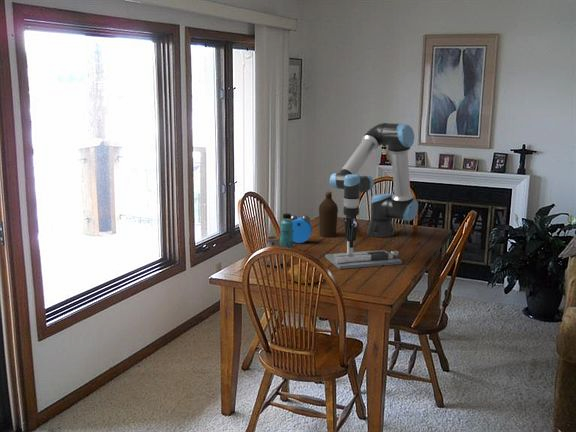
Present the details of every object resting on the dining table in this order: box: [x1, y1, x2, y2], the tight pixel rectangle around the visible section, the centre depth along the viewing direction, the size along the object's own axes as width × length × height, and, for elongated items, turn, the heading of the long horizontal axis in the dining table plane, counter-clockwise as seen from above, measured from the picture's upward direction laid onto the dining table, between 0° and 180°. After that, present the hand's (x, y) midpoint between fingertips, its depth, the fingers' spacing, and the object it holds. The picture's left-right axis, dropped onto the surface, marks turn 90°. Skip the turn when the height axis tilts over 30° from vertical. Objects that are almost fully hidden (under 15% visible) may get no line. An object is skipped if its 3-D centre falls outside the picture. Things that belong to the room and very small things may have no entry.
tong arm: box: [333, 250, 389, 260], centre depth 296 cm, size 26×3×2 cm, turn 105°
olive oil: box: [318, 190, 339, 238], centre depth 343 cm, size 11×11×25 cm
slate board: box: [324, 249, 403, 270], centre depth 298 cm, size 32×20×2 cm, turn 106°
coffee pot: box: [261, 235, 283, 267], centre depth 285 cm, size 21×12×15 cm, turn 0°
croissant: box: [287, 262, 320, 285], centre depth 269 cm, size 14×16×8 cm
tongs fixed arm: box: [335, 249, 399, 263], centre depth 293 cm, size 33×5×3 cm, turn 106°
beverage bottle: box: [279, 212, 294, 249], centre depth 310 cm, size 6×7×20 cm
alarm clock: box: [288, 214, 313, 244], centre depth 330 cm, size 13×6×15 cm, turn 82°
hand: (350, 253), depth 301 cm, fingers closed
